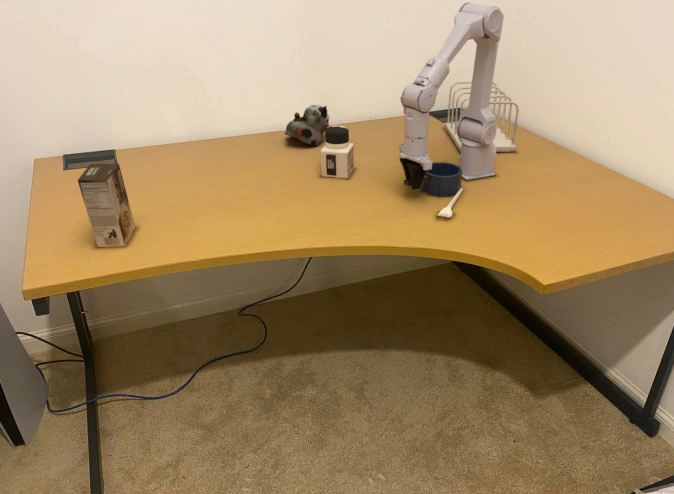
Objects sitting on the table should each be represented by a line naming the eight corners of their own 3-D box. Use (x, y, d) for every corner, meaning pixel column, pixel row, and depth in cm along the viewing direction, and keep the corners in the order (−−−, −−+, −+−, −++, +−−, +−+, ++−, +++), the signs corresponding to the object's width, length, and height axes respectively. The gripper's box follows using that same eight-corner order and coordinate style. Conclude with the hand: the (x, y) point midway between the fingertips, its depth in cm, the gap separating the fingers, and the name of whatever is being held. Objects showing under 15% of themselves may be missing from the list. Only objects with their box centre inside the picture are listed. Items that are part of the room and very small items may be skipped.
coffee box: (108, 228, 134) (90, 163, 125) (136, 227, 135) (120, 162, 126) (96, 247, 126) (75, 179, 118) (125, 246, 127) (107, 178, 118)
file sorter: (515, 152, 177) (523, 101, 168) (460, 154, 175) (465, 102, 167) (493, 126, 198) (499, 80, 189) (444, 128, 196) (447, 81, 188)
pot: (443, 178, 160) (444, 159, 156) (467, 190, 153) (469, 171, 150) (393, 192, 151) (393, 173, 148) (417, 206, 145) (418, 186, 141)
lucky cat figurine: (286, 134, 190) (302, 94, 187) (319, 149, 192) (336, 110, 188) (279, 135, 176) (297, 92, 172) (315, 152, 177) (333, 109, 174)
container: (347, 179, 159) (347, 133, 152) (321, 176, 160) (319, 131, 153) (354, 168, 165) (353, 124, 158) (328, 166, 167) (326, 122, 159)
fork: (467, 191, 152) (468, 185, 151) (446, 223, 137) (447, 216, 136) (455, 189, 153) (456, 183, 152) (433, 221, 138) (434, 214, 137)
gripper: (389, 128, 144) (387, 178, 152) (414, 146, 133) (412, 200, 141) (414, 125, 147) (411, 174, 154) (441, 142, 135) (437, 195, 143)
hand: (413, 186), depth 148 cm, fingers closed on pot, 2 cm apart
